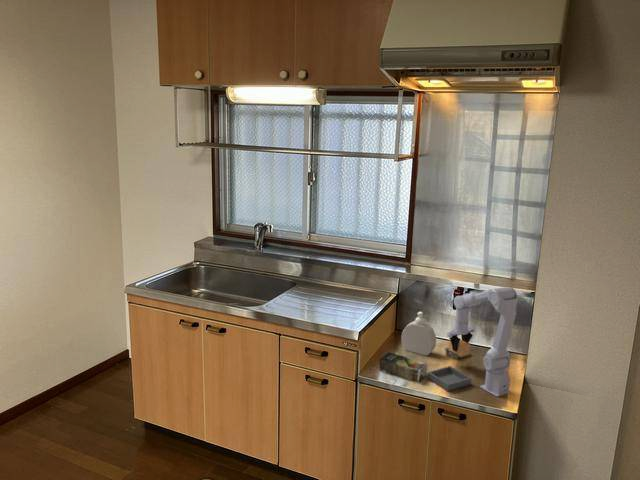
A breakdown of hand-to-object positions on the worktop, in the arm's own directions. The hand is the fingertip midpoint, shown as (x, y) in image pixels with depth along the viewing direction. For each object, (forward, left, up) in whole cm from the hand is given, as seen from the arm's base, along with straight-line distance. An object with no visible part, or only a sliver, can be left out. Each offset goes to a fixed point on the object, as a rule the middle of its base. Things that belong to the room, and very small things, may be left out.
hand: (459, 349), depth 251 cm
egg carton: (+10, -8, -9) cm, 15 cm away
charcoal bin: (-9, +14, -8) cm, 19 cm away
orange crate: (0, 0, -2) cm, 2 cm away
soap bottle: (+21, +6, -8) cm, 23 cm away
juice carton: (+7, +26, -9) cm, 28 cm away
